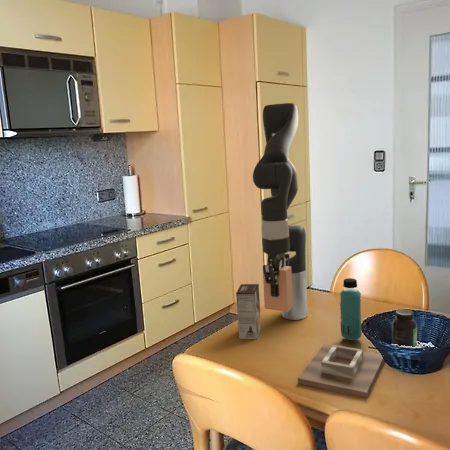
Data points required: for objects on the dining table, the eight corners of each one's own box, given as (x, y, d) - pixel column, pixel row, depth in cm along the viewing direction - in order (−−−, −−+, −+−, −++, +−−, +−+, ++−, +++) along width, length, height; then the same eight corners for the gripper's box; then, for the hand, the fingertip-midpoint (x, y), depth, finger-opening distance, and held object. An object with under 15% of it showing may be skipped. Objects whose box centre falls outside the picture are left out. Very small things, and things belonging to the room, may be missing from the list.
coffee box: (243, 327, 164) (240, 283, 161) (261, 328, 163) (259, 283, 160) (238, 339, 155) (235, 292, 152) (258, 339, 154) (255, 292, 151)
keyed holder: (323, 348, 144) (323, 335, 143) (384, 359, 135) (384, 344, 135) (297, 383, 126) (297, 367, 125) (366, 398, 117) (366, 381, 116)
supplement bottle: (421, 353, 137) (421, 314, 135) (399, 356, 136) (399, 317, 134) (408, 343, 144) (409, 306, 142) (387, 346, 143) (387, 309, 141)
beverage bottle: (363, 337, 151) (362, 276, 147) (360, 346, 145) (359, 283, 141) (342, 334, 153) (341, 275, 150) (338, 343, 147) (337, 281, 144)
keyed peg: (270, 303, 139) (268, 264, 137) (292, 306, 136) (291, 266, 133) (264, 308, 136) (262, 268, 133) (287, 311, 132) (285, 270, 130)
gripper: (273, 229, 139) (275, 284, 143) (252, 240, 127) (255, 300, 131) (297, 230, 136) (299, 287, 139) (277, 241, 124) (280, 303, 127)
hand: (278, 293), depth 135 cm, fingers closed on keyed peg, 4 cm apart
